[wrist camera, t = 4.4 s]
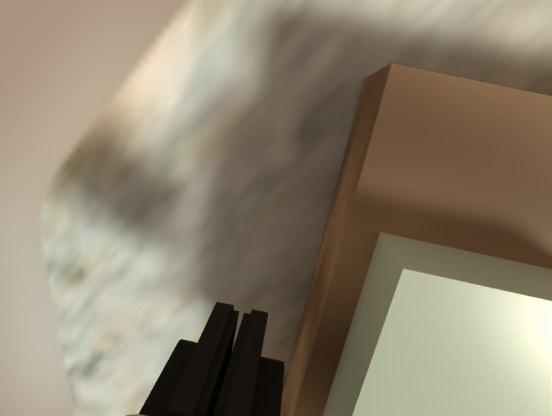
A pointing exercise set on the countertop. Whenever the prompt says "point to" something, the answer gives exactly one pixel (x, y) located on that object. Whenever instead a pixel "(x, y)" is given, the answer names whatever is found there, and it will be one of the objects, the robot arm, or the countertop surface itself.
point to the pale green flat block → (446, 336)
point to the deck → (424, 197)
